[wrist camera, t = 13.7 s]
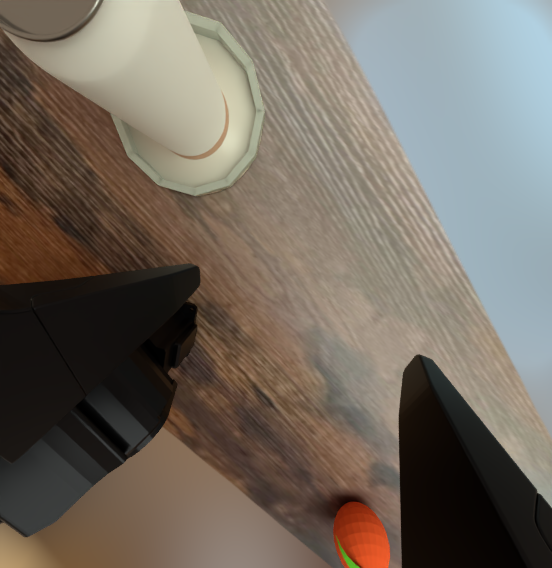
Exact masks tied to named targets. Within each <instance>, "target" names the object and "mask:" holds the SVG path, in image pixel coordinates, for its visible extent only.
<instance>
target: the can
mask: <svg viewBox="0 0 552 568" xmlns="http://www.w3.org/2000/svg"><path fill="white" fill-rule="evenodd" d="M0 28H1V29H2V30H3V31H4V32H5V33H6V35H7V36H8V37H9V38H10V39H11V40H12V42H13V43H14V44H15V45H16V46H17V47H18V48H19V49H20V50H21V51H22V52H23V53H24V54H25V55H26V56H27V57H28V58H29V59H30V60H32V61H33V62H34V63H35V64H37V65H38V66H39V67H41V68H42V69H43V70H45V71H46V72H47V73H49V74H50V75H52V76H53V77H55V78H56V79H58V80H59V81H61V82H62V83H64V84H66V85H67V86H69V87H70V88H72V89H73V90H75V91H77V92H78V93H80V94H81V95H83V96H84V97H86V98H88V99H89V100H91V101H92V102H94V103H95V104H97V105H99V106H100V107H102V108H103V109H105V110H107V111H108V112H110V113H111V114H113V115H115V116H116V117H118V118H119V119H121V120H123V121H124V122H126V123H127V124H129V125H131V126H132V127H134V128H135V129H137V130H139V131H140V132H142V133H143V134H145V135H147V136H148V137H150V138H151V139H153V140H155V141H156V142H158V143H159V144H161V145H163V146H164V147H166V148H168V149H169V150H171V151H173V152H175V153H177V154H180V155H184V156H197V155H201V154H203V153H205V152H207V151H209V150H210V149H211V148H212V147H213V146H214V145H215V144H216V143H217V142H218V140H219V139H220V137H221V135H222V133H223V130H224V127H225V119H226V111H225V102H224V98H223V95H222V92H221V89H220V87H219V85H218V82H217V80H216V78H215V76H214V74H213V72H212V69H211V67H210V65H209V63H208V61H207V59H206V57H205V54H204V52H203V50H202V48H201V46H200V44H199V42H198V39H197V37H196V35H195V33H194V31H193V29H192V27H191V25H190V22H189V20H188V18H187V16H186V14H185V12H184V10H183V7H182V5H181V3H180V1H179V0H0Z"/></svg>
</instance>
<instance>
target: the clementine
mask: <svg viewBox="0 0 552 568" xmlns="http://www.w3.org/2000/svg"><path fill="white" fill-rule="evenodd" d="M333 533H334V542H335V546H336V550H337V553H338V555H339V557H340V560H341V562H342V564H343V565H344V567H345V568H388V565H389V560H390V547H389V543H388V538H387V534H386V531H385V529H384V527H383V525H382V523H381V521H380V520H379V518H378V517H377V515H376V514H375V513H374V512H373V511H372V510H371V509H370V508H369V507H367V506H366V505H364V504H362V503H360V502H348V503H346V504H344V505H343V506H342V507H341V508H340V509H339V510H338V512H337V515H336V517H335V521H334V529H333Z"/></svg>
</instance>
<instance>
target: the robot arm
mask: <svg viewBox="0 0 552 568" xmlns="http://www.w3.org/2000/svg"><path fill="white" fill-rule="evenodd" d="M199 285H200V269H199V267H198V266H196V265H194V264H182V265H174V266H166V267H158V268H151V269H143V270H135V271H128V272H120V273H112V274H104V275H97V276H95V277H94V276H89V277H81V278H72V279H64V280H54V281H44V282H33V283H21V284H10V285H0V524H1V523H6V524H7V525H8V526H10V527H11V528H12V529H14V530H15V531H17V532H18V533H19V534H21V535H22V536H23V537H28V536H30V535H33V534H34V533H36V532H38V531H40V530H41V529H43V528H45V527H47V526H49V525H51V524H52V523H54V522H55V521H57V520H58V519H59V518H60V517H61V516H62V515H63V514H64V513H65V512H66V511H67V510H68V509H69V508H70V507H71V506H72V505H73V504H75V503H76V502H77V501H78V500H79V499H80V498H81V497H82V496H83V495H84V494H85V493H86V492H87V491H88V490H89V489H90V488H91V487H93V486H94V485H95V484H96V483H97V482H98V481H100V480H101V479H102V478H103V477H105V476H106V475H107V474H108V473H110V472H111V471H113V470H114V469H116V468H117V467H119V466H120V465H122V464H123V463H124V462H125V461H126V460H127V459H128V458H129V457H132V456H133V455H135V454H136V453H137V452H139V451H140V450H141V449H142V448H143V447H145V446H146V445H147V444H148V443H149V442H150V441H151V440H152V439H153V438H154V436H155V435H156V434H157V433H158V432H159V430H160V429H161V428H162V426H163V425H164V423H165V421H166V420H167V417H168V415H169V411H170V408H171V405H172V401H173V398H174V395H175V391H176V388H177V383H176V381H175V380H174V379H173V380H172V379H171V377H170V376H169V375H168V374H167V373H168V371H169V370H170V369H171V368H177V367H178V366H179V365H180V363H181V362H182V361H183V359H184V358H185V357H186V356H188V355H189V353H190V349H191V348H192V347H193V345H194V342H195V336H196V331H197V325H196V324H195V321H196V315H197V306H196V305H194V304H191V303H187V302H186V301H187V300H188V298H189V297H190V296H191V295H192V294H193V293H194V292H195V290H196V289H197V288H198V287H199ZM191 308H193V309H194V311H193V310H191ZM399 459H400V504H401V549H402V568H552V508H551V506H550V505H549V504H548V503H547V501H546V500H545V499H544V498H543V496H542V495H541V494H539V493H537V489H536V488H535V487H534V485H533V484H532V483H531V482H530V480H529V479H528V478H527V477H526V476H525V474H524V473H523V472H522V471H521V469H520V468H519V467H518V466H517V464H516V463H515V462H514V461H513V459H512V458H511V457H510V456H509V454H508V453H507V452H506V451H505V449H504V448H503V447H502V446H501V444H500V443H499V442H498V441H497V439H496V438H495V437H494V436H493V435H492V433H491V432H490V431H489V430H488V428H487V427H486V426H485V425H484V423H483V422H482V421H481V420H480V418H479V417H478V416H477V415H476V413H475V412H474V411H473V410H472V408H471V407H470V406H469V405H468V403H467V402H466V401H465V400H464V398H463V397H462V396H461V395H460V394H459V392H458V391H457V390H456V389H455V387H454V386H453V385H452V384H451V382H450V381H449V380H448V379H447V377H446V376H445V375H444V374H443V372H442V371H441V370H440V369H439V367H438V366H437V365H436V364H435V362H434V361H433V360H432V359H430V358H428V357H425V356H423V355H420V354H419V355H416V356H415V357H414V358H413V359H412V361H411V362H410V363H409V364H408V366H407V367H406V368H405V370H404V372H403V379H402V388H401V398H400V408H399Z"/></svg>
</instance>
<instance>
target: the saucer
mask: <svg viewBox="0 0 552 568" xmlns="http://www.w3.org/2000/svg"><path fill="white" fill-rule="evenodd" d="M184 12H185V14H186V16H187V18H188V20H189V22H190V25H191V27H192V29H193V31H194V33H195V35H196V37H197V39H198V42H199V44H200V46H201V48H202V50H203V52H204V54H205V57H206V59H207V61H208V63H209V65H210V67H211V69H212V72H213V74H214V76H215V78H216V80H217V82H218V85H219V87H220V89H221V92H222V95H223V98H224V102H225V111H226V119H225V127H224V130H223V133H222V135H221V137H220V139H219V140H218V142H217V143H216V144H215V145H214V146H213V147H212V148H211V149H210V150H209V151H207V152H205V153H203V154H201V155H197V156H184V155H180V154H177V153H175V152H173V151H171V150H169V149H168V148H166V147H164V146H163V145H161V144H159V143H158V142H156V141H155V140H153V139H151V138H150V137H148V136H147V135H145V134H143V133H142V132H140V131H139V130H137V129H135V128H134V127H132V126H131V125H129V124H127V123H126V122H124V121H123V120H121V119H119V118H118V117H116V116H115V115H113V114H111V113H110V114H111V116H112V119H113V121H114V124H115V126H116V129H117V131H118V134H119V136H120V139H121V141H122V143H123V146H124V148H125V151H126V153H127V156H128V157H129V158H130V159H131V160H132V161H133V162H134V163H135V164H136V165H137V166H139V167H140V168H141V169H142V170H143V171H144V172H145V173H146V174H147V175H148V176H149V177H150V178H151V179H152V180H153V181H154V182H155V183H156V184H157V185H159V186H162V187H166V188H169V189H173V190H176V191H180V192H183V193H187V194H190V195H194V196H197V197H199V196H202V195H206V194H212V193H216V192H219V191H221V190H224V189H226V188H229V187H232V186H233V184H234V183H235V182H237V181H238V180H239V179H240V178H241V177H242V176H243V175H244V174H245V173H246V171H247V170H248V169H249V167H250V166H251V164H252V162H253V161H254V160H255V159H256V156H257V151H258V149H259V145H260V142H261V137H262V131H263V124H264V119H265V111H264V107H263V102H262V98H261V94H260V90H259V85H258V81H257V77H256V73H255V68H254V64H253V61H252V60H251V59H250V57H249V56H248V55H247V54H246V53H245V51H244V50H243V49H242V48H241V47H240V45H239V44H238V43H237V42H236V40H235V39H234V38H233V37H232V36H231V34H230V33H229V32H228V31H227V30H226V28H225V27H224V26H223V25H222V24H221V23H220V22H218V21H215V20H212V19H209V18H206V17H203V16H200V15H196V14H193V13H190V12H187V11H184Z"/></svg>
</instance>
